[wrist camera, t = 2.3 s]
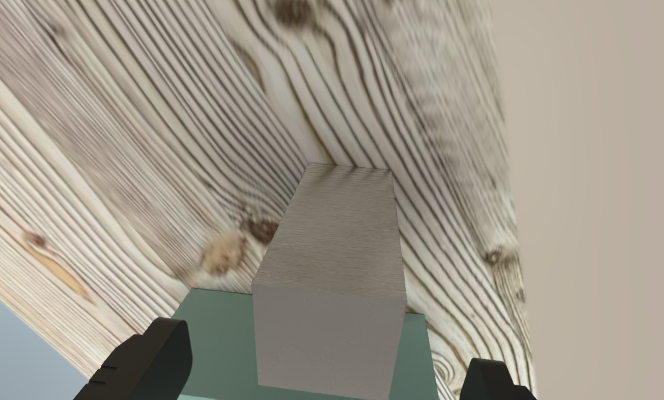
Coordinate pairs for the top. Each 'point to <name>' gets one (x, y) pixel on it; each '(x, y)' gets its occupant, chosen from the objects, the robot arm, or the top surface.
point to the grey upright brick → (332, 287)
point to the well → (241, 365)
